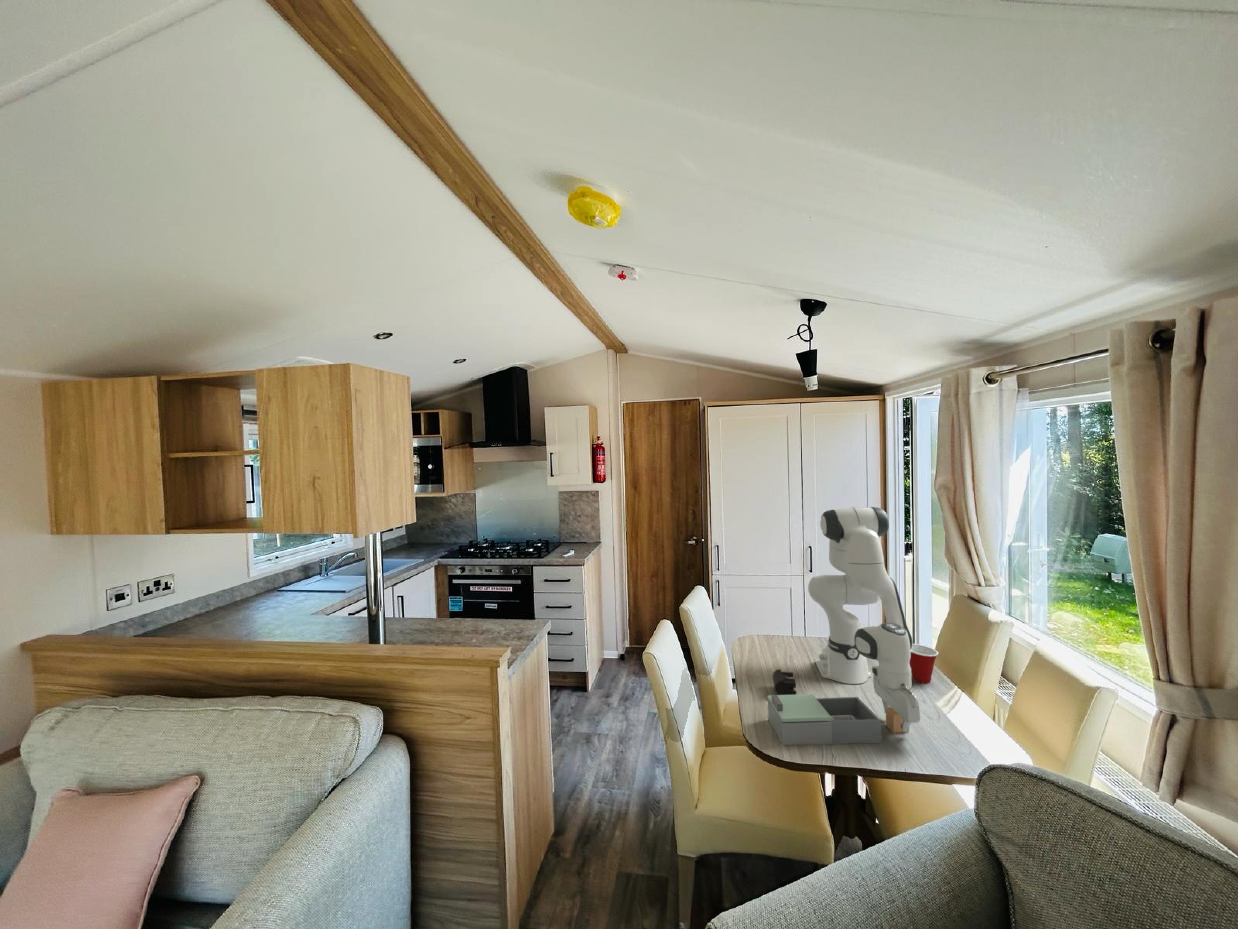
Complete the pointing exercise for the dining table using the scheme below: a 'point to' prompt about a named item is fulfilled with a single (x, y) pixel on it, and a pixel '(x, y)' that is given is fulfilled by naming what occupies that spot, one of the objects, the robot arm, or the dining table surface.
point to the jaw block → (893, 720)
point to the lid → (798, 708)
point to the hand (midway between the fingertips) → (896, 722)
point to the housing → (831, 724)
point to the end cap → (784, 683)
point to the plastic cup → (922, 662)
